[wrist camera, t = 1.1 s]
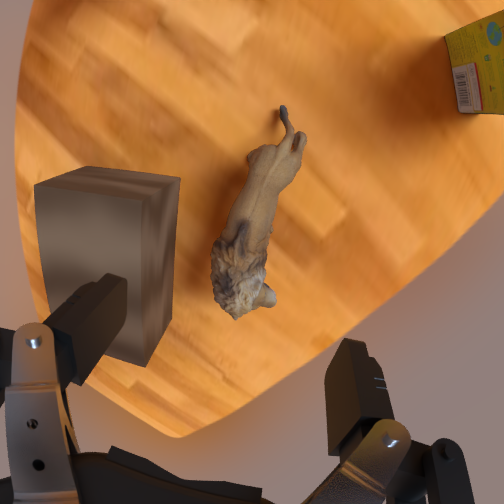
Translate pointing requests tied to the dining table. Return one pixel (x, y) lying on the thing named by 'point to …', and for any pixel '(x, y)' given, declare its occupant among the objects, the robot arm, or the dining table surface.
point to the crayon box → (479, 65)
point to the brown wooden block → (112, 246)
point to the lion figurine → (254, 226)
